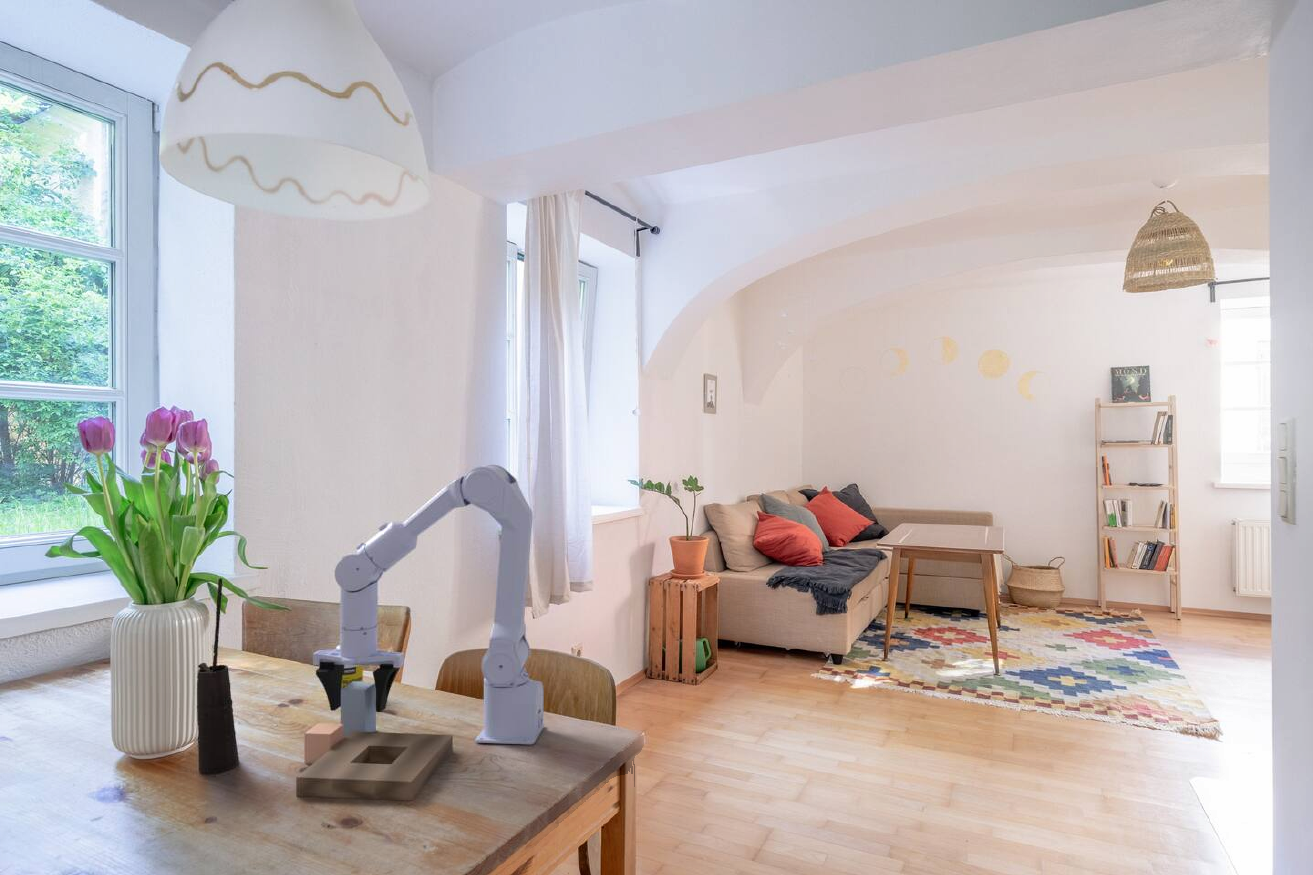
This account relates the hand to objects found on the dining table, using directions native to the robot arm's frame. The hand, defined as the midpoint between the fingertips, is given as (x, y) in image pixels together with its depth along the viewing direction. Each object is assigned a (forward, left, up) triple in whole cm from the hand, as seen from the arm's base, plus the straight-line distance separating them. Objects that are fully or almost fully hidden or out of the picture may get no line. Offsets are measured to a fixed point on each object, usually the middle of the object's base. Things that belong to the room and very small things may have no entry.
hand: (358, 709), depth 123 cm
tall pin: (0, 0, -4) cm, 4 cm away
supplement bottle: (+10, -16, -4) cm, 19 cm away
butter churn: (+16, +13, -4) cm, 21 cm away
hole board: (-10, +13, -4) cm, 17 cm away
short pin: (+1, +9, -4) cm, 10 cm away
